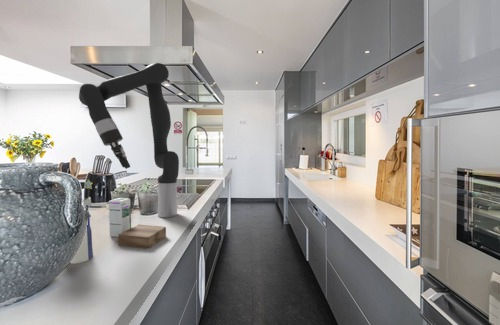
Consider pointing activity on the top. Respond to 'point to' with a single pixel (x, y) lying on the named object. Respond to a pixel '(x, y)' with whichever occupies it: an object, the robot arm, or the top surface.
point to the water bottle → (86, 247)
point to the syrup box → (119, 216)
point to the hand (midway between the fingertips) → (127, 167)
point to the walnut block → (142, 236)
